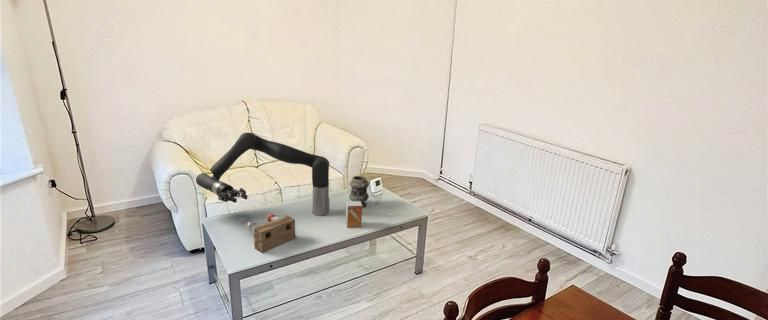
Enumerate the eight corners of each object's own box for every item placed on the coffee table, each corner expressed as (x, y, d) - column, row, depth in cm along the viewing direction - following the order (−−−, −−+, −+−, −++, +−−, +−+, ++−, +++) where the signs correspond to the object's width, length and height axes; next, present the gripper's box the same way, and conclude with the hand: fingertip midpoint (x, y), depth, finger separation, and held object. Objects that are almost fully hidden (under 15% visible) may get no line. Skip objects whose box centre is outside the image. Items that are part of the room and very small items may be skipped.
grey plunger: (246, 230, 207) (245, 222, 206) (254, 227, 211) (253, 219, 209) (261, 238, 200) (260, 230, 199) (268, 235, 204) (268, 227, 202)
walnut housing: (254, 248, 202) (253, 228, 199) (287, 234, 218) (287, 215, 214) (262, 253, 199) (261, 232, 196) (295, 238, 214) (294, 219, 211)
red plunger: (266, 222, 216) (266, 215, 215) (273, 220, 220) (273, 212, 218) (281, 230, 209) (281, 222, 208) (288, 227, 213) (288, 219, 211)
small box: (347, 227, 228) (347, 206, 224) (345, 222, 234) (346, 201, 230) (361, 227, 230) (362, 205, 226) (359, 222, 236) (360, 200, 232)
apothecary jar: (359, 199, 266) (361, 173, 261) (372, 206, 258) (373, 178, 253) (344, 204, 258) (345, 176, 253) (357, 210, 250) (358, 182, 245)
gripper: (209, 186, 212) (227, 196, 202) (234, 179, 223) (253, 188, 213) (210, 200, 214) (228, 210, 204) (235, 192, 225) (254, 202, 215)
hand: (241, 199), depth 208 cm, fingers open, 5 cm apart
